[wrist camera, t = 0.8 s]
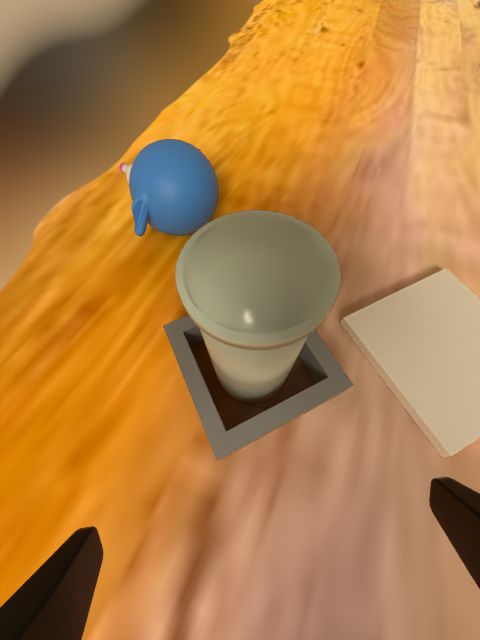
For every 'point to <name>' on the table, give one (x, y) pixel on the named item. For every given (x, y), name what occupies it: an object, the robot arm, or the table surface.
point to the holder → (226, 442)
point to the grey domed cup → (256, 295)
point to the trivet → (428, 355)
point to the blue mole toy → (171, 188)
